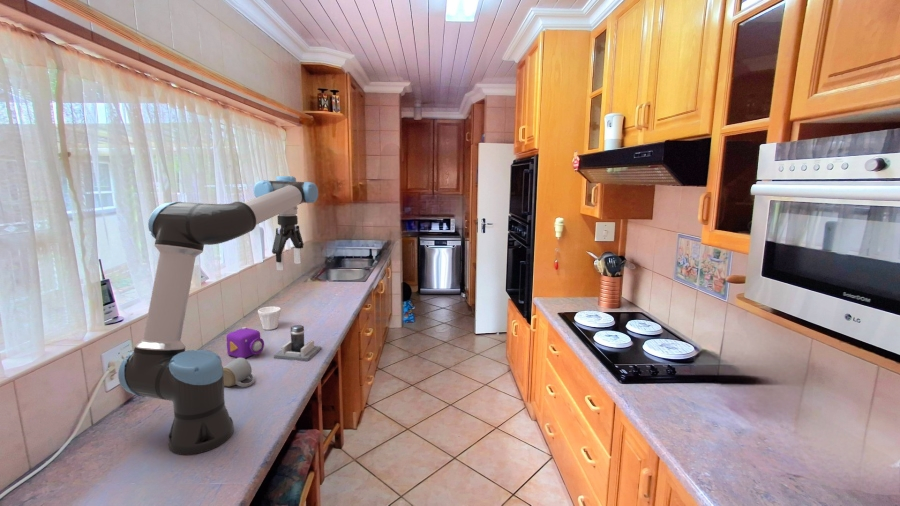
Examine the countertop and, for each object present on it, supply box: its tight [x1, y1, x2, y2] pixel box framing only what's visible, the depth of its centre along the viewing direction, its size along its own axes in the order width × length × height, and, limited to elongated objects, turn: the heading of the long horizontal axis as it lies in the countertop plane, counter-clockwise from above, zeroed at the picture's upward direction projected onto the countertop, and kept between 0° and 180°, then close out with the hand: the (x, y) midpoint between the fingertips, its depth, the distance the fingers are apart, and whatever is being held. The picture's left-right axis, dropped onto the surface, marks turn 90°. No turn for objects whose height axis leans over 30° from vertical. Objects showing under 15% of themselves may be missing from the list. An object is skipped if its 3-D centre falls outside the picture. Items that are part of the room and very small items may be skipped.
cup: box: [257, 306, 282, 331], centre depth 192 cm, size 10×10×9 cm
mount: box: [273, 339, 322, 362], centre depth 166 cm, size 12×14×4 cm
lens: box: [289, 324, 305, 352], centre depth 165 cm, size 5×5×10 cm
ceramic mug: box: [222, 357, 255, 388], centre depth 140 cm, size 11×8×8 cm
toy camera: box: [226, 326, 265, 359], centre depth 163 cm, size 11×14×10 cm
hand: (289, 266), depth 167 cm, fingers open, 13 cm apart
